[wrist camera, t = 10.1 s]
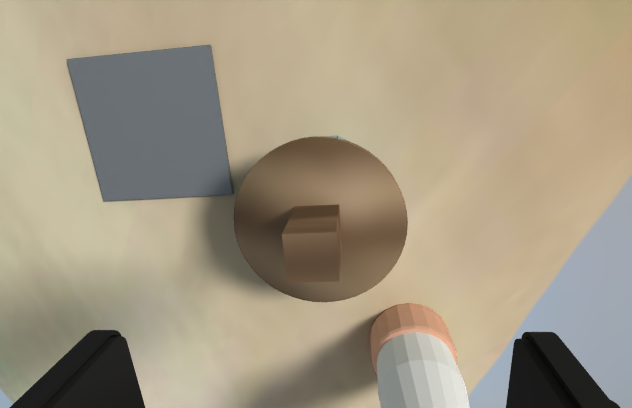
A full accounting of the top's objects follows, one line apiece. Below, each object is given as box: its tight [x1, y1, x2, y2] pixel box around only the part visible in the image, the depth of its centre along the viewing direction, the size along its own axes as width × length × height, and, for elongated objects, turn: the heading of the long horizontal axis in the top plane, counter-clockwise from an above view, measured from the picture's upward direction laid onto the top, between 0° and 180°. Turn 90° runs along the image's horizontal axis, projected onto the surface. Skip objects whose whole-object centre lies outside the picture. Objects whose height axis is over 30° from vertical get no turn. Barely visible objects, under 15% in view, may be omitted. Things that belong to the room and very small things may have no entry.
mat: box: [67, 45, 233, 201], centre depth 30 cm, size 12×12×1 cm
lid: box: [234, 137, 408, 302], centre depth 23 cm, size 12×12×6 cm
